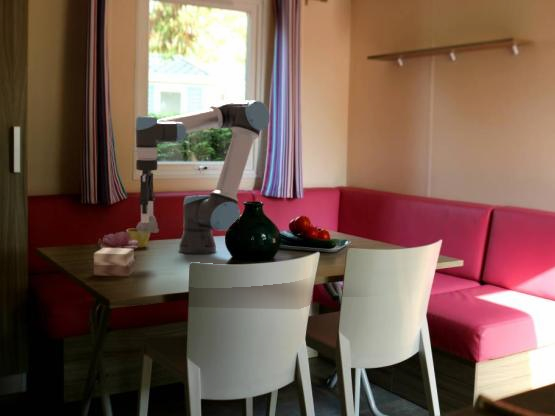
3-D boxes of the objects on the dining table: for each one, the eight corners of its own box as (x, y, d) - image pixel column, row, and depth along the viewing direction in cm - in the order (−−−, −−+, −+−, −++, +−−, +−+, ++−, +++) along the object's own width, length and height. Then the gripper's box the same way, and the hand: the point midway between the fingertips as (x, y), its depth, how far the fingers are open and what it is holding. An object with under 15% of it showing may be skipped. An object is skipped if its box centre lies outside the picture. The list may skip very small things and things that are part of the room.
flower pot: (130, 244, 312) (131, 227, 311) (153, 245, 310) (153, 228, 309) (122, 248, 302) (122, 230, 301) (146, 249, 300) (146, 232, 300)
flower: (145, 251, 280) (140, 226, 280) (108, 258, 272) (103, 233, 273) (133, 255, 293) (128, 231, 293) (98, 263, 285) (92, 238, 286)
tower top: (133, 259, 259) (133, 248, 258) (125, 265, 248) (125, 254, 247) (103, 258, 259) (103, 247, 259) (94, 264, 248) (93, 253, 248)
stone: (135, 233, 261) (134, 217, 260) (140, 230, 271) (140, 214, 270) (157, 233, 261) (157, 217, 260) (162, 230, 271) (161, 214, 270)
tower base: (135, 270, 260) (135, 259, 260) (128, 277, 248) (128, 265, 248) (101, 269, 260) (101, 258, 260) (93, 276, 248) (93, 265, 248)
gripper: (141, 157, 274) (141, 216, 276) (130, 160, 252) (131, 224, 255) (161, 157, 274) (161, 216, 277) (152, 161, 252) (153, 225, 255)
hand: (147, 220), depth 266 cm, fingers closed on stone, 9 cm apart
